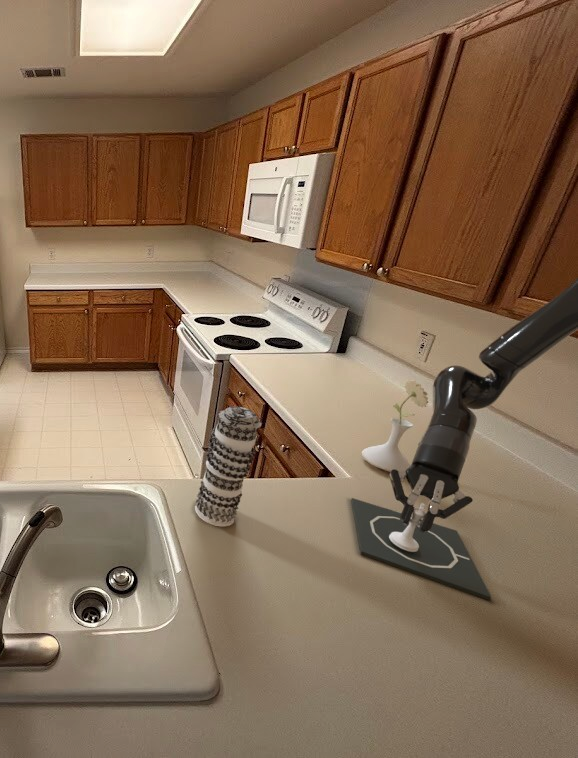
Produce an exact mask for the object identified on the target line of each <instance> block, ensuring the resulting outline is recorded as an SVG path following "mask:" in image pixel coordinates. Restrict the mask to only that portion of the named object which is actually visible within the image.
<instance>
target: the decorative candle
mask: <svg viewBox="0 0 578 758" xmlns="http://www.w3.org/2000/svg"><path fill="white" fill-rule="evenodd" d="M262 424H263V423H262V421H261V420H260V419H259V418H258V416H257V414H256V413H255V412H254V411H252V410H251V409H249V408H246V407H242V406H229V407H227V408H226V409H224V410H220V411H219V412H218V420H217V424H216V427H215V428H212V430H211V432H210V437H209V440H208V441H209V447H207V451H208V452H207V453H206V461H205V466H206V470H205V473H204V474H203V478H202V480H201V481H200V486H199V488H198V489H199V492H198V493H197V495H196V497H197V498H196V499H195V500H196V501H195V503H196V504H195V506H194V510H195V514H196V515H197V516H198V517H199V518H200V519H201V520H203V521H204V522H205V523H207V524H210V525H211V526H216V527H220V528H224V527H229V526H231V525H233V524H234V522H235V519H236V516H237V514H238V513H237V510H238V509H239V504H240V502H241V498H242V496H243V493H242V490H243V486H244V485H243V483H244V479H246V478H247V477H248V474H249V471H251V467H252V466H251V465H250V464H252V463H253V462H254V457H255V456H256V453H257V450H255V447H259V445H260V443H259V442H258V440H257V438H258V436H257V435H258V430H259V428H261V427H262Z"/></svg>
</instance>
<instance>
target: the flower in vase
mask: <svg viewBox="0 0 578 758" xmlns="http://www.w3.org/2000/svg"><path fill="white" fill-rule="evenodd" d="M404 389H405V393H406V394H407V396H408V397H407V398H405V399H404V401H402V403H401V405H399V404H398V403H395V404H393V406H392V407H393V408H394V409H396V411H397V412H398V413H399V417H391V418H390V421H391V432H390V436H389V438H388V440H387V441H386V442H385V443H383V444H378V445H372V446H369V447H365V448H364V449H363V450H362V451H361V455H362V458H363V459H364V460H365V461H366V462H368V464H370V465H372V466H373V467H376V468H378V469H379V470H380V469H381V470H383V471H385V472H388V473H390V472H391V471H392V470H393V469H395V470H397V471H406V469H408V468H409V467H410V466H411V463H410V461H409V460H408V459H407V457H406V456H405V454H403V453H402V452H401V450H400V449H399V443H400V441H401V438H402V437H403V435H404V434H405V432H406V431H408V430H409V429H410V428H412V427H413V426H414V424H413V423H412V422H410V421H408V420H406V419H403V418H408V417H412V416H415V414H402V407H403V406H404V404H406V402H407V401H408V400H409V399H410V400H411V402H413V403H414V404H415V405H417V406H418V407H421V408H426V407H427V405H428V404H429V400H428V399H429V398H428V392H427V391H425V389H424V387H422V384H421V383H420V382H418V383H417V382H416V380H414V379H411V380H410V379H407V380H405V383H404Z"/></svg>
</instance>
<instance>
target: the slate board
mask: <svg viewBox="0 0 578 758" xmlns="http://www.w3.org/2000/svg"><path fill="white" fill-rule="evenodd" d="M350 504H351V509H352V514H353V521H354V525H355V526H354V527H355V531H356V537H357V542H358V543H357V544H358V547H359V548H358V549H359V555H361V556H365V557H367V558H370V559H373V560H376V561H378V562H381V563H383V564H387V565H388V566H392V567H395V568H398V569H400V570H403V571H405V572H409V573H411V574H414V575H417V576H420V577H423V578H426V579H428V580H430V581H434V582H437V583H439V584H442V585H445V586H447V587H451V588H453V589H457V590H458V591H461V592H464V593H468V594H470V595H473V596H476V597H477V598H478V597H479V598H482V599H484V600H486V601H490V600H491V599H492V596H491V593H490V592H489V590H488V588H487V586H486V584H485V582H484V580H483V579H482V577H481V575H480V572H479V571H478V569H477V567H476V565H475V563H474V561H473V559H472V557H471V556H470V554H469V551H468V550H467V547H466V545H465V544H464V542H463V540H462V538H461V536H460V534H459V532H458V530H456V529H453V528H449V527H446V526H443V525H440V524H436V523H434V522H433V524H432V527H431V529H430V530H428V531H425V532H424V533H422V532H420V531H419V528H420V526H417V525H416V527H415V530H414V533H413V536H412V538H413V539H414V540H415V541H416V542H417V543H418V545H419V548H418V551H416V552H410V551H406V550H404V549H401V548H399V547H398V546H396V545H395V544H394V543H393V542H392V541H391V540H390V539H389V535H390V534H391V533H392V532H403V531H404V530H405V529H406V528H407V526H408V525H409V524H410V522H409V523H408V525H407V526H405V525H403V524H402V523H403V521H401V520H400V516H401V513H402V512H398V511H397V510H392V509H388V508H387V507H386V508H385V507H383V506H379V505H376V504H372V503H370V502H367V501H363V500H360V499H357V498H353V497H351V499H350ZM411 517H412V518H413V516H411ZM422 520H423V519H422V518H421V519H420V520H419V521H420V522H422Z"/></svg>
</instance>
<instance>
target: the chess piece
mask: <svg viewBox="0 0 578 758" xmlns="http://www.w3.org/2000/svg"><path fill="white" fill-rule="evenodd" d="M425 506H426V504H425V503H423V502H421V503H420V504H419V506H418V507H419V508H414V510H413V513H412V516H411V518H410V521H409V522H410V524H409V525H408V526H407V528H406V529H405V530H404V531H403V532H392V533H391V534H390V535H389V539H390V540H391V541H392V542H393V543H394V544H395V545H396V546H398V547H399V548H401V549H404V550H406V551H410V552H416V551H418V548H419V545H418V543H417V542H416V541H415V540H414V539H413V538H412V536H413V533H414V530H415V527H416V525H417V526H420V525H421V522H420V521H419V520H420V519H421V520H422V519H423V517H424V516H425V515H426V512H424V511H425ZM412 517H413V518H412Z"/></svg>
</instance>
